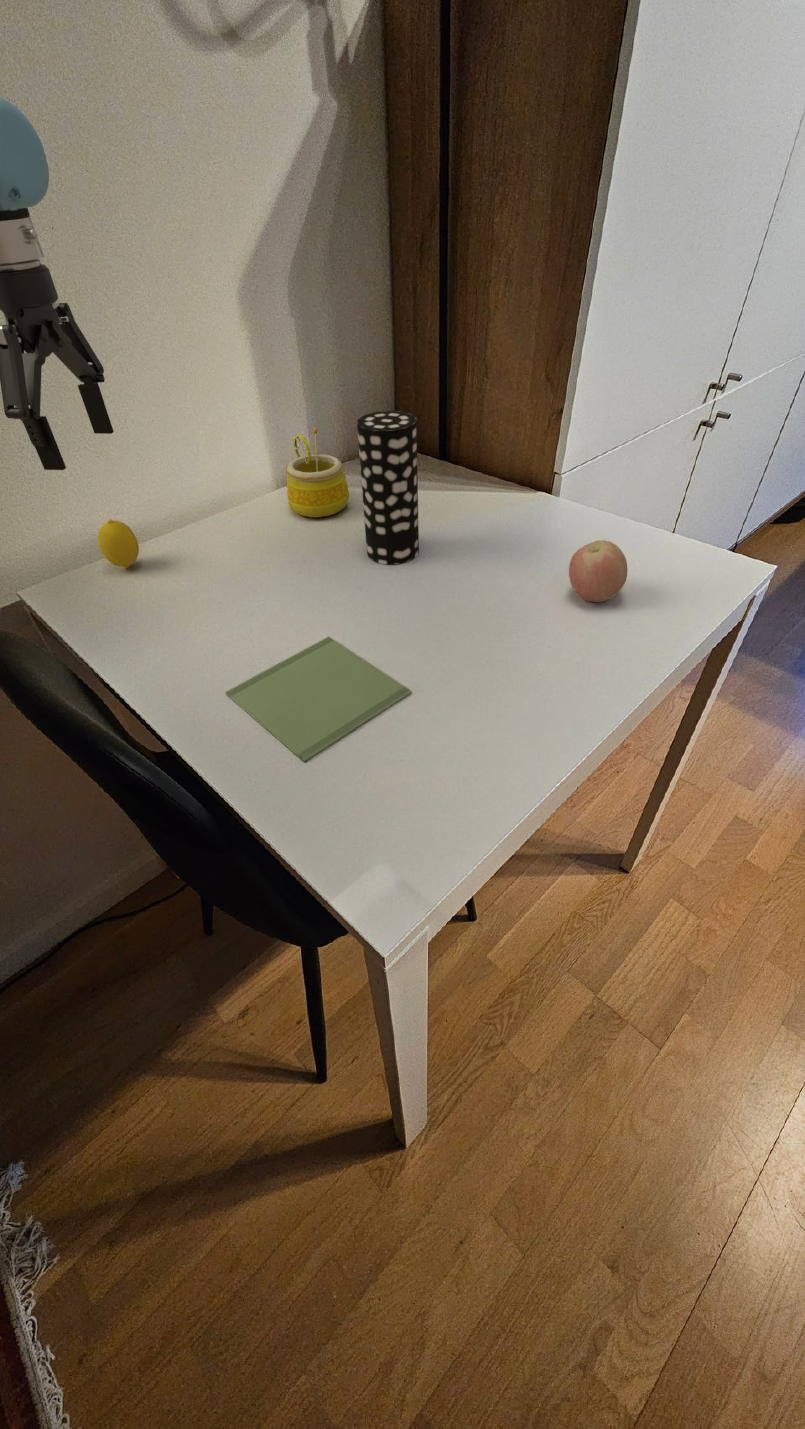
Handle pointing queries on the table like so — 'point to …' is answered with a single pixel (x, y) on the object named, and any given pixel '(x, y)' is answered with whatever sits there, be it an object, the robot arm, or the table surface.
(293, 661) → the napkin
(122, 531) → the lemon
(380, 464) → the white-spotted black cylinder
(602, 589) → the apple
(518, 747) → the table surface
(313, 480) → the yellow pot
